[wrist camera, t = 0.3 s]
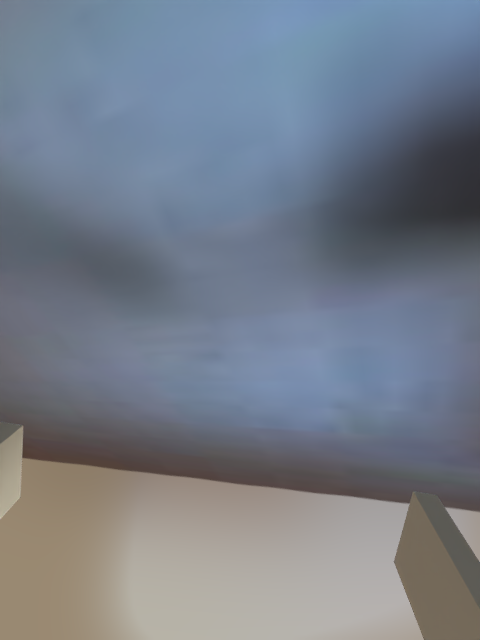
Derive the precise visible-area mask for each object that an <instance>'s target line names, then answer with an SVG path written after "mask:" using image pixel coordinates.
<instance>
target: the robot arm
mask: <svg viewBox="0 0 480 640" xmlns="http://www.w3.org/2000/svg"><path fill="white" fill-rule="evenodd" d="M22 444H23V425H18V424H12V423H6V422H0V519H1V518H2V516H4V514H5V513H6V512H7V511H8V510H9V509H10V508H11V507H12V505H14V503H15V502H16V501H17V500H18V499H19V498H20V494H21V469H22ZM394 563H395V565H396V568H397V570H398V573H399V576H400V578H401V581H402V583H403V586H404V589H405V592H406V594H407V597H408V599H409V602H410V604H411V607H412V609H413V612H414V615H415V617H416V620H417V622H418V625H419V628H420V630H421V633H422V635H423V638H424V640H480V562H479V560H478V559H477V557H476V556H475V554H474V553H473V551H472V549H471V548H470V546H469V545H468V543H467V542H466V540H465V539H464V537H463V535H462V534H461V533H460V531H459V530H458V528H457V526H456V525H455V523H454V522H453V520H452V518H451V517H450V515H449V514H448V512H447V511H446V509H445V507H444V506H443V504H442V503H441V501H440V500H439V498H438V497H437V495H433V494H427V493H421V492H415V491H413V494H412V497H411V501H410V505H409V509H408V512H407V516H406V520H405V523H404V527H403V531H402V535H401V538H400V542H399V545H398V549H397V553H396V556H395V560H394Z"/></svg>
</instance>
